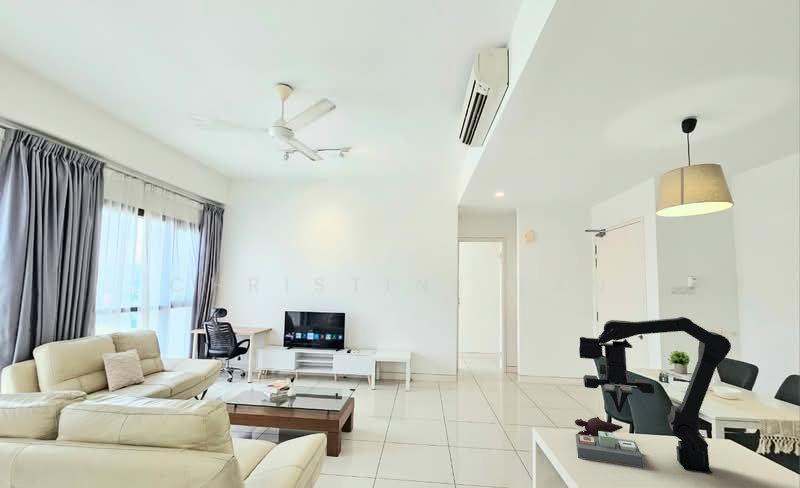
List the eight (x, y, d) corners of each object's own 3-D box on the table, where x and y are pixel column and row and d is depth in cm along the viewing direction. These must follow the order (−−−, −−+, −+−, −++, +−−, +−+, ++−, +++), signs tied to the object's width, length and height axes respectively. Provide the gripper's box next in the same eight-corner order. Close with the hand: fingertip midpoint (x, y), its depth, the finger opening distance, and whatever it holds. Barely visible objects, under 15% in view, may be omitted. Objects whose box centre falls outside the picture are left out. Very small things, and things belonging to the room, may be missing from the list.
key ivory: (634, 455, 115) (633, 441, 115) (637, 461, 111) (636, 447, 111) (619, 453, 116) (618, 439, 117) (621, 459, 112) (620, 445, 113)
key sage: (613, 445, 117) (612, 432, 117) (615, 450, 113) (614, 436, 114) (599, 443, 118) (598, 430, 119) (600, 448, 115) (599, 435, 115)
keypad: (635, 451, 117) (635, 441, 118) (643, 467, 107) (642, 456, 108) (576, 443, 124) (575, 433, 124) (578, 457, 114) (577, 447, 114)
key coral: (594, 449, 119) (593, 436, 119) (595, 455, 115) (594, 441, 116) (580, 447, 120) (579, 434, 121) (581, 453, 117) (580, 439, 117)
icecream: (616, 414, 132) (571, 416, 134) (623, 416, 125) (576, 418, 127) (621, 436, 129) (575, 438, 132) (629, 439, 123) (581, 441, 125)
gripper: (644, 358, 123) (647, 407, 121) (581, 354, 129) (583, 401, 128) (652, 365, 112) (656, 419, 111) (583, 360, 119) (586, 411, 118)
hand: (618, 412), depth 117 cm, fingers closed
